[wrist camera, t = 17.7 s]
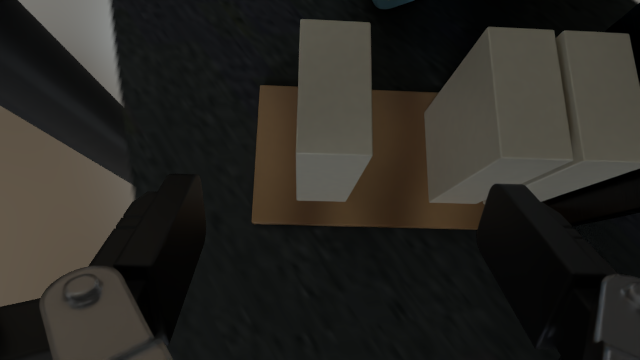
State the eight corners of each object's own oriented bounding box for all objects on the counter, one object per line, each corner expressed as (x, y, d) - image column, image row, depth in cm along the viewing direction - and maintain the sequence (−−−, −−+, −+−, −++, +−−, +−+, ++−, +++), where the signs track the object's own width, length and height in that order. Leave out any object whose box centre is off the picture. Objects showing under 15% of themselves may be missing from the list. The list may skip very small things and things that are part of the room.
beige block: (296, 200, 24) (295, 153, 15) (299, 108, 25) (300, 18, 17) (345, 202, 24) (373, 155, 15) (346, 110, 26) (370, 21, 17)
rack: (252, 224, 24) (213, 172, 13) (260, 89, 26) (233, -55, 15) (549, 231, 25) (754, 189, 14) (532, 100, 27) (696, -28, 16)
